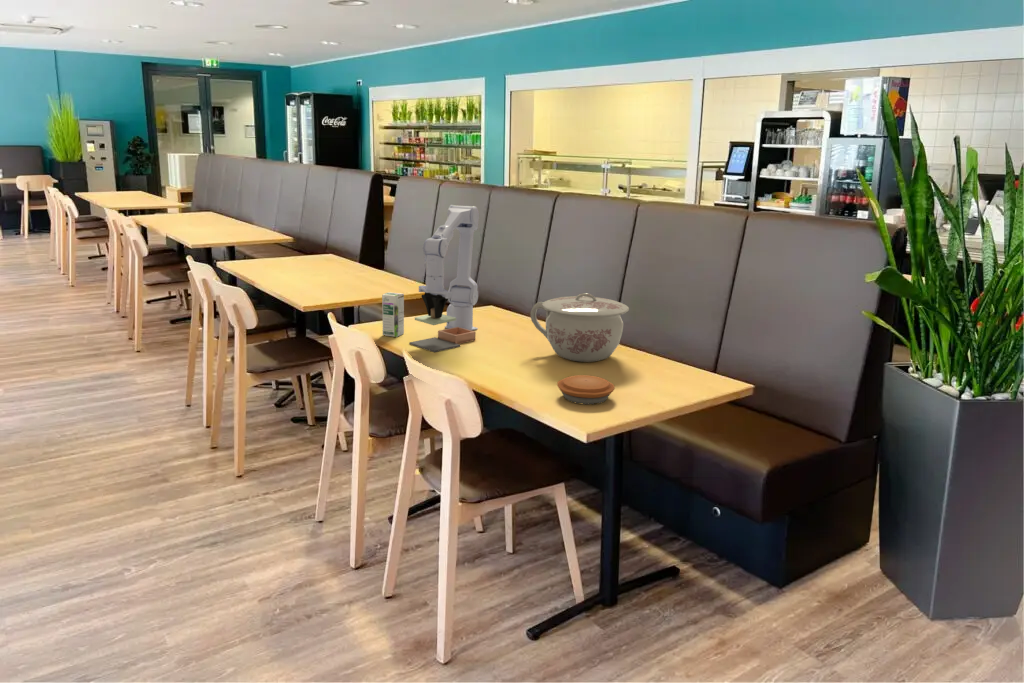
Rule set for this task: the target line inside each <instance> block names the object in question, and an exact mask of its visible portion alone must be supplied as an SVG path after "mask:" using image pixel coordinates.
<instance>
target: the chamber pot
mask: <svg viewBox="0 0 1024 683" xmlns="http://www.w3.org/2000/svg"><path fill="white" fill-rule="evenodd" d="M538 309H542V310H544V311H545V318H546V319H545V327H543V326H542V325H541V323H540V322H539V321H538V317H537V311H538ZM629 310H630V308H629V306H628V305H626V304H625V303H622V302H619V301H617V300H614V299H610V298H609V299H608V298H603V297H597V296H596V297H595V295H593V294H591V293H587V292H585V293H580V294H578V295H573V296H560V297H554V298H552V299H547V300H545V301H544V302H542V301H538V302H536V303H534V305H533V306H532V309H531V310H530V319H531V320H530V321H531V322H532V323H533V325H534V328H535V329H537V330H538V331H539V332H540V333H541V334H542V335H543V336H544V337H545V339H547V341H548V342H549V344H550V346H551V348H552V349H553V352H554V353H555V354H556V355H557V356H559V357H561V358H563V359H565V360H569V361H572V362H575V363H576V362H578V363H594V362H595V363H596V362H599V361H603V360H606V359H608V358H609V357H611V356H612V355H613V353H614V352H615V351H616V349H617V348H618V346H619V345H620V342H621V338H622V335H623V330H624V321H623V319H622V317H621V316H622V315H624V314H626V313H628V312H629Z"/></svg>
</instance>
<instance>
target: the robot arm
mask: <svg viewBox="0 0 1024 683" xmlns="http://www.w3.org/2000/svg"><path fill="white" fill-rule="evenodd" d="M446 217H447V218H446V220H445V222H444V224H442V225H439V226H438V227H437V229H436V231H435V232H434V233H433V234H432V236H431V237H430V238H429V237H428V238H427V239H425V240H424V242H423V245H422V253H423V255H424V258H423V260H424V262H425V263H426V264H425V265H426V266H425V269H426V270H425V274H426V275H425V284H426V285H419V286H418V293H424V294H422V295H421V299H422V300H423V302H424V305H425V307H426V312H427V315H428V316H431V308H434V311H435V318H441V317H442V314H443V312H444V310H445V306H446V304H447V302H449V303H450V304H449V305H448V306H447V308H446V315H447V316H451V317H454V318H456V320H455V321H451V322H446V325H445V326H444V329H449V328H455V327H460V328H464V329H468V330H471V331H475V330H478V328H479V327H476V326H474V324H473V323H474V321H473V320H474V319H473V318H474V306H475V305H476V304H477V302H478V300H479V291H478V288H479V287H478V284H477V282H476V281H475V280H474V279H473V278H472V277H471V276H472V275H471V274H472V260H473V246H474V234H475V232H477V230H478V229H479V221H480V212H479V209H478V207H477V206H476V205H473V206H472V205H454V204H450V205H449V207H448V208H447V212H446ZM455 230H457V231H458V232H459V238H458V239H459V240H458V241H459V242H458V253H457V254H458V255H457V266H456V267H457V268H456V277H455V278H453V279H452V280H451V281H450V282H449V287H448V289H445V286H444V284H445V281H444V280H445V257H446V255H447V252H448V248H449V243H450V242H451V241H452V240H453V238H454V237H455V236H454V235H455V234H454V231H455Z"/></svg>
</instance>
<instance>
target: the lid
mask: <svg viewBox="0 0 1024 683" xmlns="http://www.w3.org/2000/svg"><path fill="white" fill-rule="evenodd" d="M455 320H456V318H454V317H451V316H447V314H443V313H442V317H441V318H435V311H434V308H431V316H428V314H424V315H421V316H416V317H414V321H418V322H420V323H424V324H428V325H431V326H436V325H437V326H438V325H441V324H447V322H451V321H455Z"/></svg>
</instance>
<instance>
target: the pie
mask: <svg viewBox="0 0 1024 683" xmlns="http://www.w3.org/2000/svg"><path fill="white" fill-rule="evenodd" d="M556 385H557V387H558V389H559V390H560V392H561V394H562V396H563V397H564V398H565V400H566V399H567V400H566V401H568V400H569V401H568V402H570V401H572V402H571V403H573V402H576V403H575V404H578V403H583V404H582V405H590V404H592V405H595V404H594V403H599V404H602V403H604V402H606V401H607V399H608V398H609V397H610V395H611V394H612V393H613V392H614V390H615V389H616V388H615V385H614V383H612V382H611V381H608V380H607V379H606V378H602V377H599V376H595V375H586V374H578V375H571V376H567V377H565V378H563V379H560V380H558V381H557V383H556ZM601 402H602V403H601Z"/></svg>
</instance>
